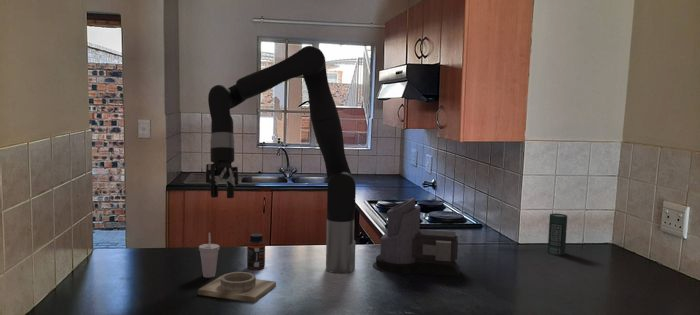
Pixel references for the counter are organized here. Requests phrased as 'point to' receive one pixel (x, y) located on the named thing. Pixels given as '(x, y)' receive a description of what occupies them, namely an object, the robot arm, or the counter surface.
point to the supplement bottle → (256, 252)
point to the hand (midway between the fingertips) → (222, 197)
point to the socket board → (239, 294)
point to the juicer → (416, 245)
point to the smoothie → (209, 258)
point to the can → (557, 234)
